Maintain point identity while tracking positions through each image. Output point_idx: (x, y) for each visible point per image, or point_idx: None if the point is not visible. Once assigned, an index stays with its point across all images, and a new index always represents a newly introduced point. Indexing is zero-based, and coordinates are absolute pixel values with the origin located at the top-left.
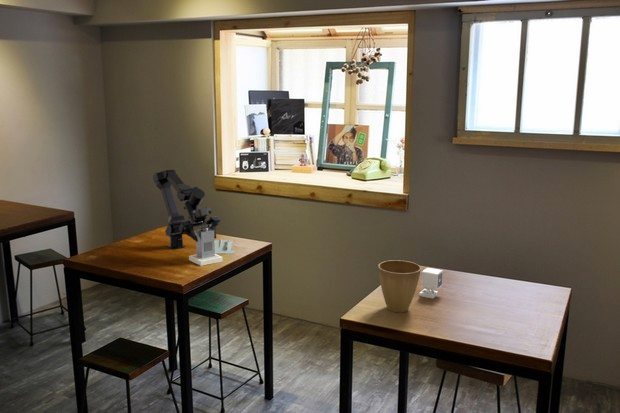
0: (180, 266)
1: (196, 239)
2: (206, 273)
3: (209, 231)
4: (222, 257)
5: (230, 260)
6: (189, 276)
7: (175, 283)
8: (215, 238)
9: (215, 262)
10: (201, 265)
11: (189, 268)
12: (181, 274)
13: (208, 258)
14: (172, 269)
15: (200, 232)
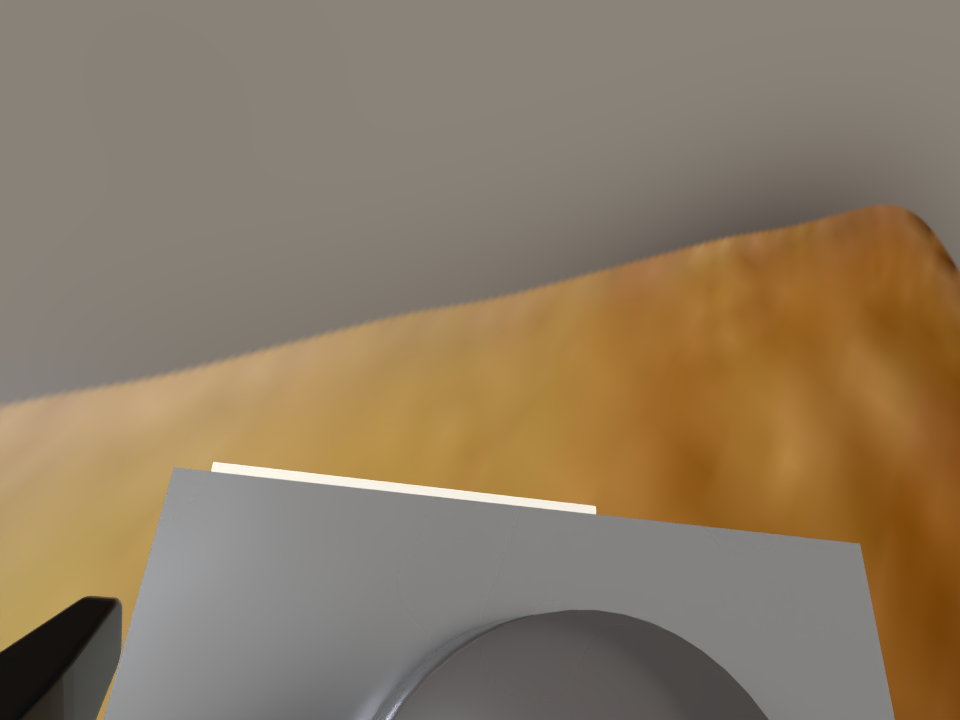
0: None
1: None
2: (647, 261)
3: (449, 502)
4: (217, 464)
5: (108, 435)
6: (809, 308)
7: (949, 257)
8: (107, 637)
9: None
10: None
11: (727, 528)
12: (858, 409)
13: None
14: (906, 643)
15: (863, 608)
